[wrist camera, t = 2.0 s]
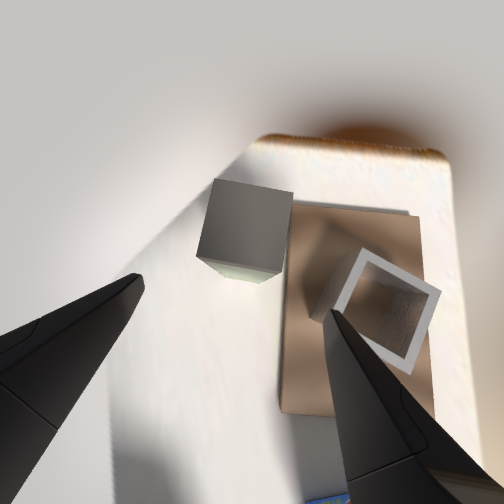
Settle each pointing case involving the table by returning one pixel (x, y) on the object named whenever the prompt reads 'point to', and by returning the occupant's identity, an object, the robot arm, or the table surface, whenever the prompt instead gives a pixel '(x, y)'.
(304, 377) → the beige rectangular plate
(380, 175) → the table surface
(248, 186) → the pale green prism
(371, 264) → the hollow square tube
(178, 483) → the table surface
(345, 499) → the medicine box
